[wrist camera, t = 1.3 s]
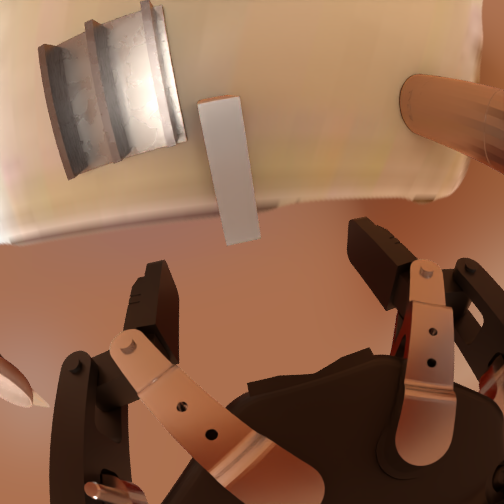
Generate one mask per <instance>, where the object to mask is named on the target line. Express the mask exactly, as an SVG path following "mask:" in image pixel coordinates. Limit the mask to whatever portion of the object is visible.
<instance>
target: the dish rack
mask: <svg viewBox="0 0 504 504" xmlns="http://www.w3.org/2000/svg"><path fill="white" fill-rule="evenodd" d="M140 4H141V11H138V12H135V13H132V14H129V15H126V16H123V17H120V18H117V19H115V20H112V21H109V22H107V23H104V24H102V25H101V24H100V23H98V22H96V21H94V20H93V19H92V20H90V21H87V22H85V32H83V33H81V34H79V35H77V36H75V37H73V38H71V39H69V40H67V41H65V42H63V43H61V44H59V45H57V46H53V45H48V44H43V45H41V46H40V47H38V53H39V62H40V69H41V76H42V82H43V88H44V93H45V98H46V103H47V108H48V112H49V116H50V120H51V124H52V128H53V132H54V136H55V140H56V143H57V147H58V150H59V153H60V157H61V160H62V163H63V166H64V169H65V172H66V175H67V178H68V180H70V179H73V178H75V177H76V176H77V175H78V174H81V173H84V172H86V171H89V170H92V169H95V168H97V167H100V166H103V165H106V164H109V163H112V162H113V163H117V162H120V161H122V160H123V159H124V158H127V157H130V156H133V155H136V154H140V153H143V152H147V151H150V150H154V149H157V148H161V147H165V146H167V147H171V146H175V145H176V144H177V143H180V142H184V141H187V137H186V132H185V127H184V122H183V118H182V113H181V108H180V103H179V98H178V93H177V88H176V82H175V77H174V72H173V66H172V61H171V55H170V49H169V43H168V37H167V31H166V25H165V18H164V12H163V7H162V5H159V6H155V7H153V5H152V4H151V2H150V0H144V1H141V2H140Z"/></svg>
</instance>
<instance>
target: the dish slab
mask: <svg viewBox="0 0 504 504" xmlns="http://www.w3.org/2000/svg"><path fill="white" fill-rule="evenodd" d="M197 105H198V110H199V116H200V121H201V126H202V131H203V136H204V141H205V146H206V151H207V156H208V161H209V166H210V171H211V175H212V180H213V185H214V190H215V194H216V199H217V204H218V208H219V213H220V217H221V222H222V226H223V231H224V236H225V240H226V244H227V246H228V245H233V244H237V243H242V242H247V241H252V240H256V239H260V238H261V235H260V229H259V221H258V215H257V208H256V201H255V194H254V187H253V180H252V174H251V167H250V160H249V154H248V147H247V141H246V134H245V128H244V121H243V115H242V108H241V102H240V96H231V95H224V96H218V97H213V98H208V99H203V100H199V101H198V104H197Z"/></svg>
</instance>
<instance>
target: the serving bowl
mask: <svg viewBox="0 0 504 504" xmlns="http://www.w3.org/2000/svg"><path fill="white" fill-rule="evenodd" d="M0 397H1V398H3V399H5V400H6V401H8V402H10V403H13V404H15V405H18V406H21V407H31V406H32V405H33V392H32V389H31V386H30V384H29V382H28V380H27V379H26V377H24V375H23V374H22V373H21V372H20V371H19V370H18V369H17V368H16V367H15V366H14V365H12V364H11V363H9V362H8V361H7V360H5V359H4V358H2V357H1V356H0Z"/></svg>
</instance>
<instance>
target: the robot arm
mask: <svg viewBox="0 0 504 504" xmlns="http://www.w3.org/2000/svg"><path fill="white" fill-rule="evenodd" d="M400 109H401V113H402V117H403V119H404V122H405V123H406V125H407V126H408V128H409V129H410V130H411V131H412V132H414V133H416V134H418V135H420V136H423V137H426V138H428V139H431V140H433V141H435V142H438V143H440V144H443V145H445V146H447V147H450V148H452V149H454V150H456V151H458V152H461V153H463V154H465V155H467V156H469V157H471V158H473V159H475V160H477V161H479V162H481V163H483V164H485V165H487V166H489V167H491V168H492V169H494V170H496V171H498V172H500V173H502V174H503V175H504V90H501V89H497V88H494V87H490V86H486V85H482V84H478V83H473V82H468V81H463V80H458V79H452V78H446V77H440V76H433V75H424V74H415V75H413V76H411V77H410V78H409V79H407V81H406V82H405V83H404V85H403V88H402V90H401V95H400ZM348 226H349V227H348V243H347V254H348V258H349V260H350V262H351V264H352V265H353V266H354V267H355V269H356V270H357V271H358V273H359V274H360V275H361V277H362V278H363V279H364V281H365V282H366V284H367V285H368V286H369V288H370V289H371V290H372V292H373V293H374V295H375V296H376V297H377V299H378V300H379V302H380V303H381V304H382V306H383V307H384V309H385V310H386V311H388V310H390V309H393V308H396V309H397V310H398V311H397V315H396V321H395V328H394V336H393V341H392V347H391V352H390V355H373V353H372V351H371V349H370V348H366V349H363V350H361V351H358V352H355V353H352V354H350V355H347V356H344V357H341V358H340V359H338V360H337V361H335V362H333V363H332V364H330V365H328V366H327V367H325V368H323V369H322V370H320V371H318V372H316V373H314V374H304V375H286V376H285V375H283V376H276V377H272V378H267V379H263V380H259V381H255V382H250V383H247V385H248V390H249V392H247V393H245V394H242V395H241V396H239V397H238V398H236V399H235V400H233V401H232V402H231V403H230V404H229V405H227V407H226V408H225V407H223V406H222V405H221V404H220V403H218V402H217V401H216V400H215V399H214V398H213V397H211V396H210V395H209V394H208V393H207V392H206V391H204V390H203V389H202V388H201V387H200V386H199V385H198V384H197V383H195V382H194V381H193V380H192V379H191V378H190V377H189V376H188V375H187V374H186V373H185V372H184V371H183V370H182V369H181V368H180V367H178V366H177V365H176V364H179V295H178V291H177V288H176V285H175V283H174V280H173V278H172V275H171V273H170V270H169V268H168V265H167V263H166V261H165V260H161V261H157V262H152V263H148V264H147V266H146V271H145V276H144V277H140V278H138V279H137V281H136V282H135V284H134V285H133V286H132V290H131V295H130V297H131V298H130V299H129V305H128V309H127V313H126V318H125V323H124V329H123V332H121V333H119V334H118V335H117V336H116V337H115V338H114V339H113V340H112V342H111V344H110V349H109V350H108V351H106V352H104V353H102V354H100V355H97V356H95V357H92V358H91V357H90V356H89V355H88V353H86V352H84V351H77V352H74V353H72V354H70V355H69V356H68V357H67V358H66V359H65V361H64V362H63V365H62V368H61V372H60V377H59V382H58V388H57V394H56V400H55V407H54V414H53V422H52V433H51V445H50V469H49V472H50V473H49V481H50V504H148V502H147V499H146V496H145V494H144V492H143V491H142V490H141V489H140V487H138V486H137V485H136V484H134V483H132V478H131V467H130V454H129V436H128V404H129V403H132V402H134V401H136V400H139V399H141V400H142V402H143V403H144V404H145V405H146V407H147V408H148V409H149V410H150V412H151V413H152V414H153V415H154V416H155V417H156V419H157V420H158V421H159V422H160V423H161V424H162V426H163V427H165V429H166V430H167V431H168V432H169V433H170V434H171V435H172V436H173V438H174V439H175V440H176V441H177V442H178V443H179V444H180V445H181V446H182V447H183V448H184V449H185V450H186V451H187V452H188V453H189V454H190V455H191V456H192V459H191V460H190V462H189V464H188V465H187V467H186V468H185V470H184V471H183V473H182V474H181V476H180V477H179V479H178V480H177V481H176V483H175V484H174V486H173V487H172V489H171V490H170V492H169V493H168V495H167V496H166V497H165V499H164V500H163V502H162V503H161V504H504V291H503V289H502V288H501V287H500V286H499V285H498V284H497V283H496V282H495V281H494V279H493V278H492V277H491V276H490V275H489V274H488V273H487V272H486V271H485V270H484V269H483V268H482V267H481V266H480V265H479V264H478V263H477V262H476V261H474V260H472V259H469V258H461V259H459V260H458V261H457V263H456V266H455V268H454V269H443V270H441V268H440V267H439V266H438V265H437V264H436V263H434V262H432V261H430V260H426V259H417V258H416V257H415V256H414V255H413V254H412V253H411V252H410V251H409V250H408V249H407V248H406V247H405V246H404V245H403V244H402V243H400V241H399V240H398V239H396V238H394V236H393V235H392V234H391V233H390V232H389V231H388V230H386V229H384V228H382V227H380V226H378V225H377V226H376V225H375V224H374V223H373V222H372V221H371V220H369V219H368V218H367V217H362V218H357V219H352V220H350V221H349V225H348ZM471 302H473V303H474V304H475V306H476V307H477V308H478V310H479V311H480V312H481V314H482V315H483V319H484V323H483V326H482V328H481V326H480V325H479V323H478V322H477V321H476V319H475V318H474V317H473V315H472V314H471V313H470V311H469V310H468V308H469V306H470V304H471ZM454 341H455V343H456V345H457V346H458V347H459V349H460V351H461V353H462V354H463V356H464V357H465V359H466V361H467V362H468V364H469V366H470V367H471V369H472V371H473V373H474V374H475V376H476V378H477V380H478V381H479V389H480V390H479V392H476V391H473V390H471V389H469V388H467V387H464V386H462V385H460V384H457V383H455V382H453V379H454Z"/></svg>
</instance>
